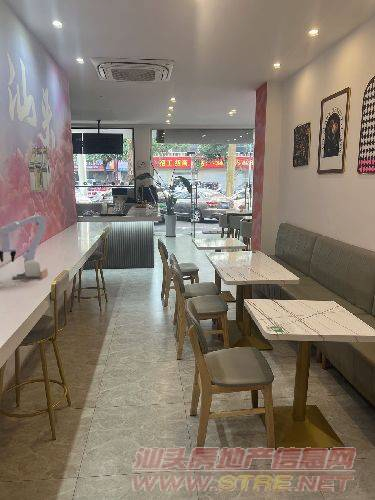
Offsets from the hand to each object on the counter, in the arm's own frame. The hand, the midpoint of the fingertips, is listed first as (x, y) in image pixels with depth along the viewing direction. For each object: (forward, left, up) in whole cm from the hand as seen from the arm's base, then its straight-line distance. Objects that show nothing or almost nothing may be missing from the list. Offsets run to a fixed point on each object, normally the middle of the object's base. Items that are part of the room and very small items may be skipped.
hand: (7, 261), depth 284 cm
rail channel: (+7, +17, -10) cm, 21 cm away
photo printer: (+6, +20, -11) cm, 24 cm away
